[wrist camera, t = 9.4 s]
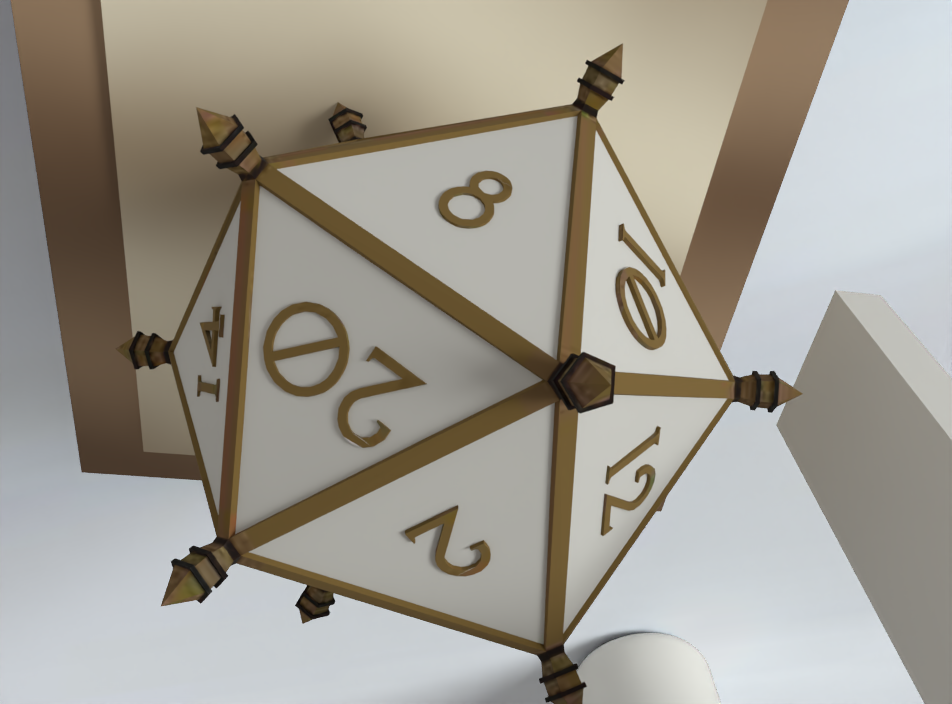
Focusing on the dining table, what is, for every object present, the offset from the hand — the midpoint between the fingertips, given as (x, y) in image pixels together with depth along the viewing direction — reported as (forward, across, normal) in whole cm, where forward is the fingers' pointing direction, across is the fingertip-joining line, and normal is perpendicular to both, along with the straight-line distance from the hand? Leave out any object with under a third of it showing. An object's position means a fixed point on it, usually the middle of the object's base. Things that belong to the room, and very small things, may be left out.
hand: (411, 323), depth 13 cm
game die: (+3, 0, 0) cm, 3 cm away
